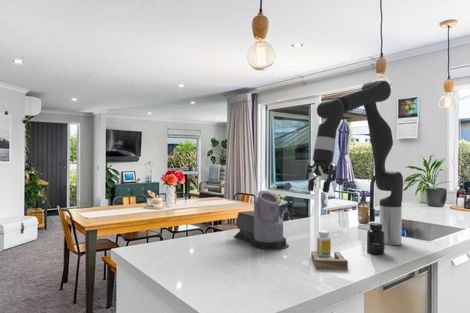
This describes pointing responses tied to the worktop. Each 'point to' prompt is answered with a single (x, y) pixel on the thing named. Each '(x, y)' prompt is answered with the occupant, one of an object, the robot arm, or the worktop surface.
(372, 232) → the supplement bottle
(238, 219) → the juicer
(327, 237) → the supplement bottle
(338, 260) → the walnut U-rest
